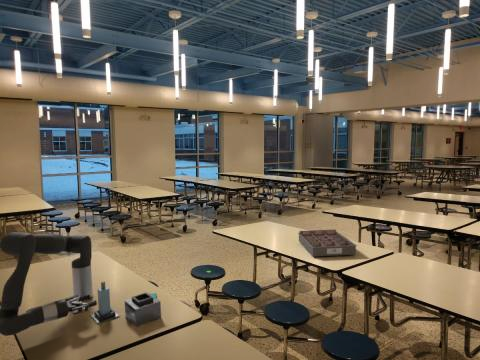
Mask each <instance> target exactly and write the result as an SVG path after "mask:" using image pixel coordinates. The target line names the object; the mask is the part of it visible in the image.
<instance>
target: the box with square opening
mask: <svg viewBox="0 0 480 360" xmlns="http://www.w3.org/2000/svg"><path fill="white" fill-rule="evenodd" d="M151 294H152V293H149V292H143V293H140V294H136V295H133V296H131V298H129V299H126V300H124V311H125V312H124V313H125V318H126V319H127V320H128V321H129V322H130V323H131V324H132V325H134V326H135V327H139V326H140V327H141V326H142V325H145V324H149V323H151V322H153V321H156V320H159V319H161V318H162V305H161V303H162V302H161V300H160V299H158V298H157V299H156V298H155V297H154V296H152V295H151Z"/></svg>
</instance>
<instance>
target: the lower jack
mask: <svg viewBox="0 0 480 360" xmlns="http://www.w3.org/2000/svg"><path fill="white" fill-rule="evenodd" d="M110 311H111V313H108V314H104V315H100V314H99V309H97V310H94V311H93V312H94V313H92V314H90V317H91V318H92V319H93V321H95V323H96V324H97V325H99V324H103V323H106V322H109V321H112V320H115V319H118V318H120V317H121V316H120V314H119V313H117V312H116V311H115V310H114V309H113V308H112V307H111V306H110Z"/></svg>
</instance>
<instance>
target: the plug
mask: <svg viewBox="0 0 480 360" xmlns="http://www.w3.org/2000/svg"><path fill="white" fill-rule="evenodd" d="M97 302H98V303H97V306H98V310H99V314H100V315H104V314H108V313H111V311H110V307H111V297H110V288H109V287H108V286H107V285H106V281H101V282H100V287H97Z"/></svg>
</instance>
